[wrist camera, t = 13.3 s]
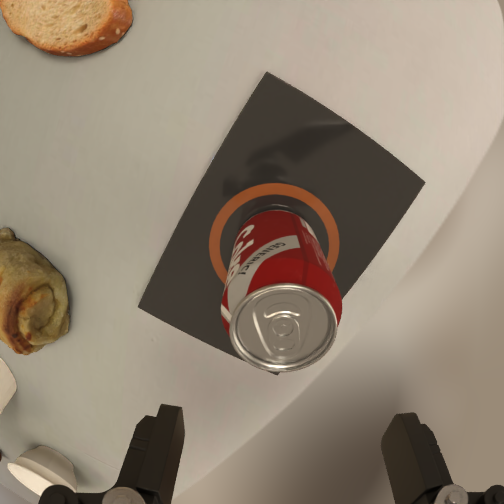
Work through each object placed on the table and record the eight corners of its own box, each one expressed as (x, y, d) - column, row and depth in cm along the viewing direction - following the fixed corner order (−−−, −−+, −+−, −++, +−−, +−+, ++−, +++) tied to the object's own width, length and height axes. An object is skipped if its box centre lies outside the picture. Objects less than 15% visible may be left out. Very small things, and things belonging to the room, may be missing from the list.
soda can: (314, 204, 26) (352, 267, 15) (316, 279, 28) (345, 374, 17) (230, 211, 26) (206, 279, 15) (239, 285, 29) (226, 383, 18)
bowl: (104, 480, 47) (93, 513, 39) (60, 477, 50) (49, 503, 42) (48, 433, 42) (31, 467, 34) (11, 433, 45) (-5, 461, 37)
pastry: (93, 334, 32) (61, 381, 25) (22, 335, 33) (-11, 372, 26) (48, 212, 27) (-4, 241, 19) (-20, 234, 28) (-64, 261, 21)
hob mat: (266, 71, 22) (266, 71, 22) (424, 181, 25) (425, 182, 24) (138, 305, 30) (137, 307, 30) (277, 373, 33) (277, 376, 33)
